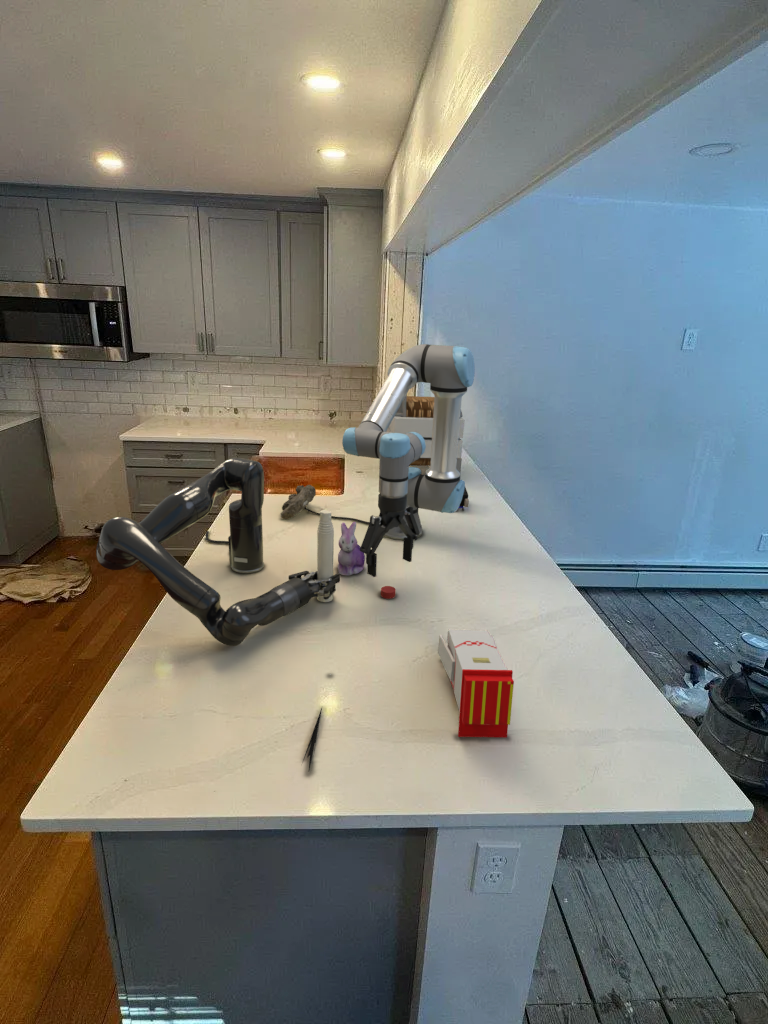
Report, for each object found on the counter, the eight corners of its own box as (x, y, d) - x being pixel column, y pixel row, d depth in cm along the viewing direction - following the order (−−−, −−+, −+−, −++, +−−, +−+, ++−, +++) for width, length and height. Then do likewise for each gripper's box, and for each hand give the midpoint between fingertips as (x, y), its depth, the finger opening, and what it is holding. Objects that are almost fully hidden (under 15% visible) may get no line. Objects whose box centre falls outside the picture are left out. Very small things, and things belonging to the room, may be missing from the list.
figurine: (343, 579, 165) (344, 531, 159) (329, 565, 173) (330, 519, 168) (372, 573, 169) (374, 526, 164) (357, 560, 177) (359, 515, 172)
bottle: (335, 600, 153) (336, 513, 144) (320, 603, 151) (321, 515, 142) (329, 593, 156) (330, 507, 148) (314, 596, 154) (315, 509, 146)
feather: (331, 679, 122) (336, 673, 122) (307, 777, 96) (313, 769, 95) (324, 675, 122) (329, 669, 121) (298, 772, 95) (304, 764, 95)
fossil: (285, 490, 226) (313, 470, 221) (301, 508, 229) (329, 489, 224) (270, 515, 206) (301, 493, 201) (287, 534, 209) (318, 513, 204)
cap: (394, 591, 159) (394, 585, 158) (395, 598, 155) (396, 592, 154) (380, 591, 159) (380, 585, 158) (381, 598, 155) (381, 592, 154)
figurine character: (468, 516, 224) (463, 500, 237) (471, 498, 221) (465, 483, 234) (452, 515, 224) (447, 499, 237) (453, 498, 220) (449, 482, 234)
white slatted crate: (382, 463, 289) (386, 382, 275) (445, 464, 293) (451, 384, 279) (390, 482, 257) (394, 392, 243) (460, 483, 261) (468, 394, 247)
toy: (488, 613, 130) (523, 677, 101) (484, 667, 133) (517, 744, 104) (435, 612, 130) (455, 676, 101) (432, 666, 133) (451, 743, 103)
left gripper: (267, 602, 145) (312, 579, 159) (308, 620, 138) (352, 594, 151) (266, 575, 143) (312, 554, 156) (308, 593, 135) (353, 569, 149)
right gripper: (415, 481, 158) (411, 550, 165) (346, 500, 141) (346, 576, 149) (435, 487, 153) (430, 558, 160) (367, 508, 136) (365, 586, 144)
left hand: (331, 574), depth 154 cm, fingers closed on bottle, 4 cm apart
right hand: (389, 567), depth 155 cm, fingers open, 13 cm apart
